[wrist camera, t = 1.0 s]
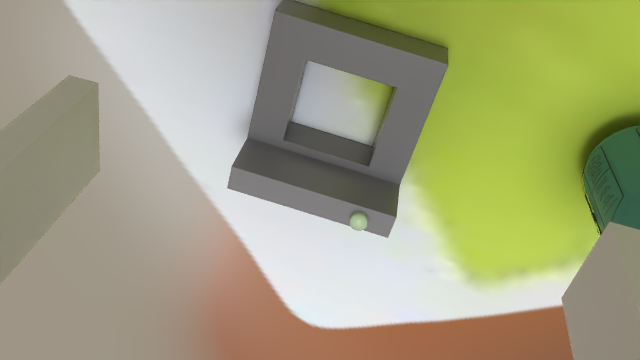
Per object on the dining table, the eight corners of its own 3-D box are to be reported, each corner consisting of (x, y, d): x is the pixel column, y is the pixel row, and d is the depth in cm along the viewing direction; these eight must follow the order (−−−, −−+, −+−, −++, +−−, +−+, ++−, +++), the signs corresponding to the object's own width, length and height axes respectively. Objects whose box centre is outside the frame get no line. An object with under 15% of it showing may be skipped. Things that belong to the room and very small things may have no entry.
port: (284, -2, 36) (256, 36, 30) (447, 48, 36) (449, 96, 30) (253, 139, 41) (224, 193, 36) (394, 183, 41) (387, 244, 36)
